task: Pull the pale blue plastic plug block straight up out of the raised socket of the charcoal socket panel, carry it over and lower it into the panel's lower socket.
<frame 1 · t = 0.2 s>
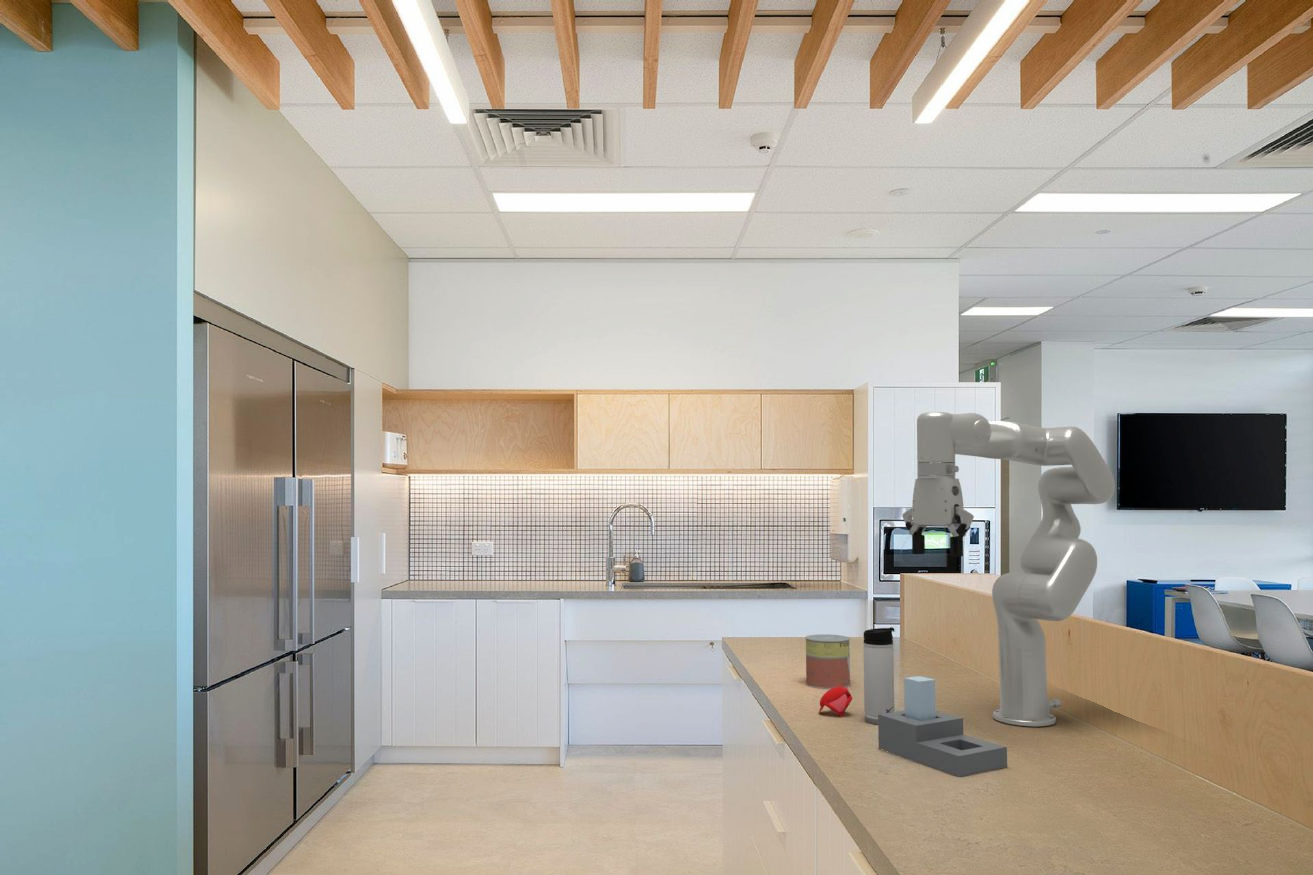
hand: (937, 555, 185), 36 cm above the counter, tool pointing down, fingers open, 9 cm apart
travel mug: (880, 722, 194), on the counter
socket panel: (940, 757, 167), on the counter
cap: (835, 715, 201), on the counter
canned food: (828, 685, 233), on the counter
plug: (920, 732, 172), point 3 cm above the counter, touching socket panel
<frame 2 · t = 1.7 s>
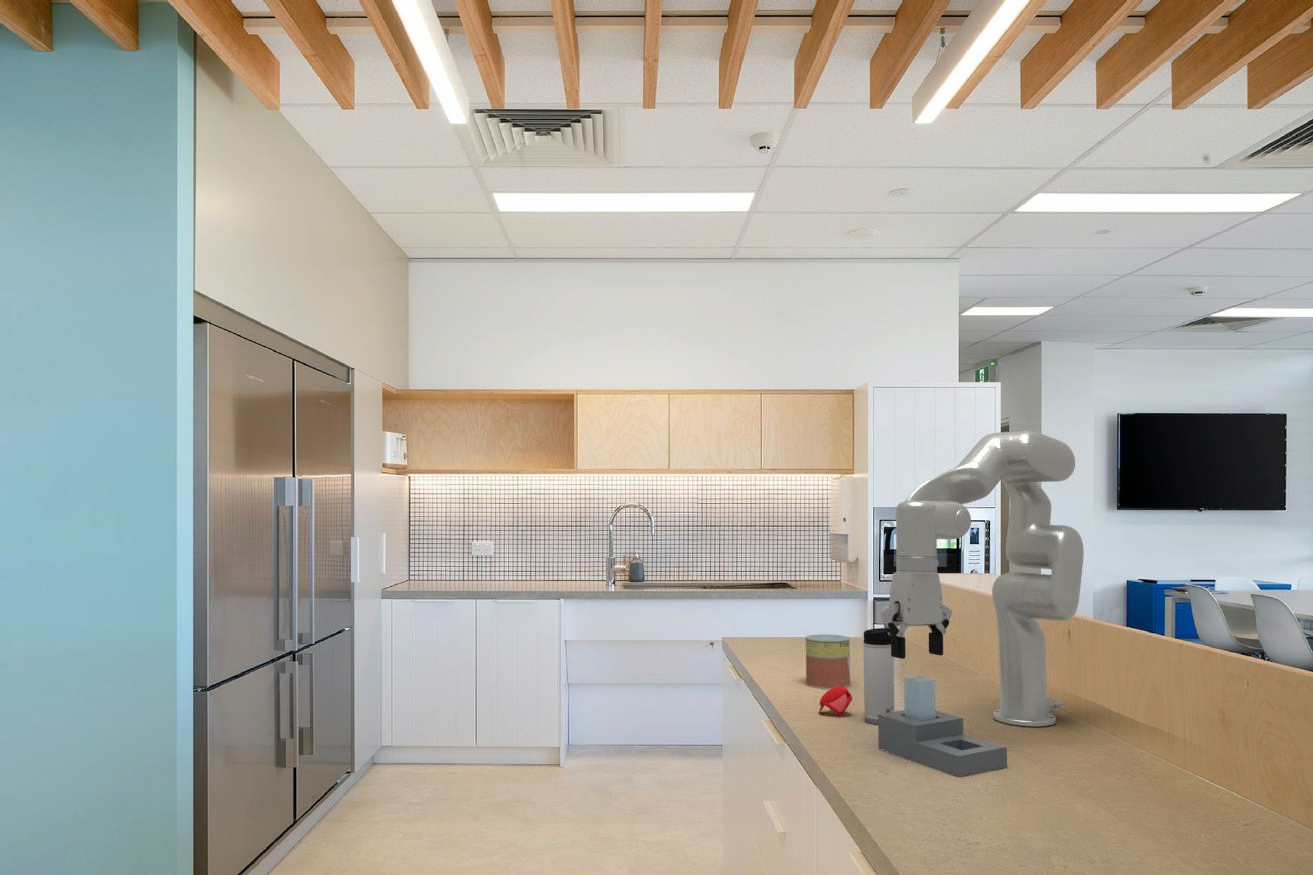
hand: (917, 655, 172), 18 cm above the counter, tool pointing down, fingers open, 9 cm apart
nothing on the counter moved.
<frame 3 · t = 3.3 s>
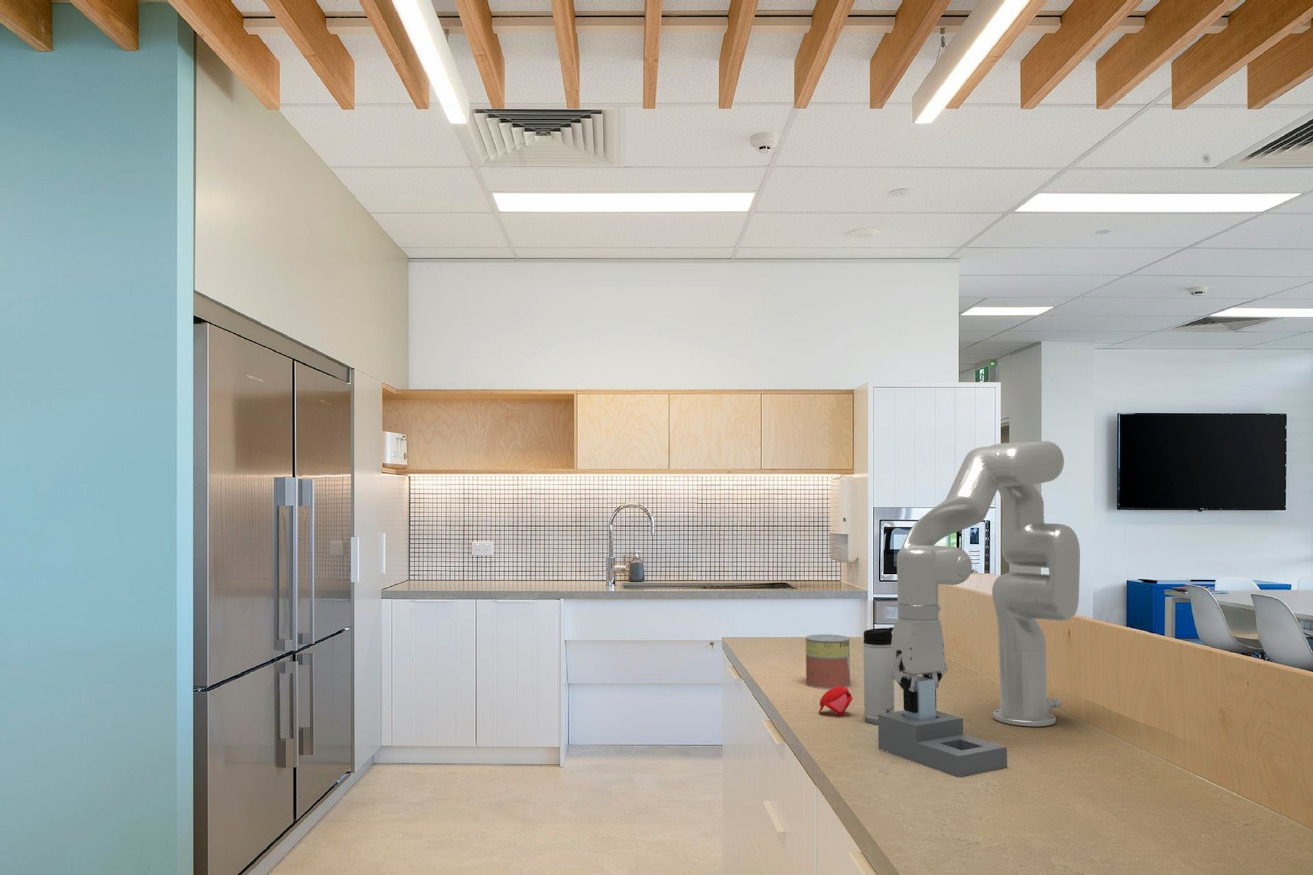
hand: (920, 709, 172), 8 cm above the counter, tool pointing down, fingers closed on plug, 4 cm apart
plug: (920, 732, 172), point 4 cm above the counter, touching gripper, socket panel
everything else where it was.
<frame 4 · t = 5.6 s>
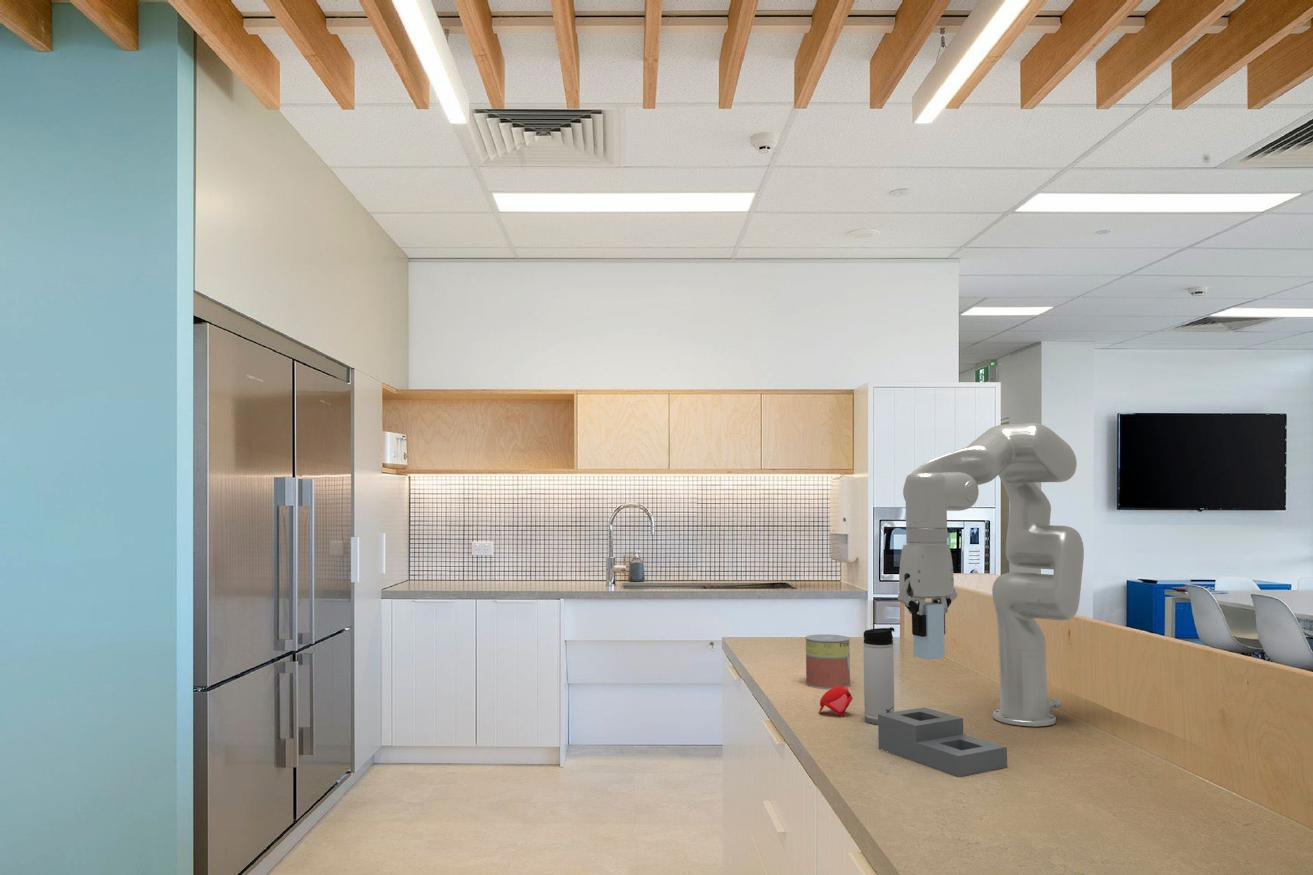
hand: (928, 633, 170), 22 cm above the counter, tool pointing down, fingers closed on plug, 4 cm apart
plug: (929, 656, 170), point 18 cm above the counter, touching gripper
everything else where it was.
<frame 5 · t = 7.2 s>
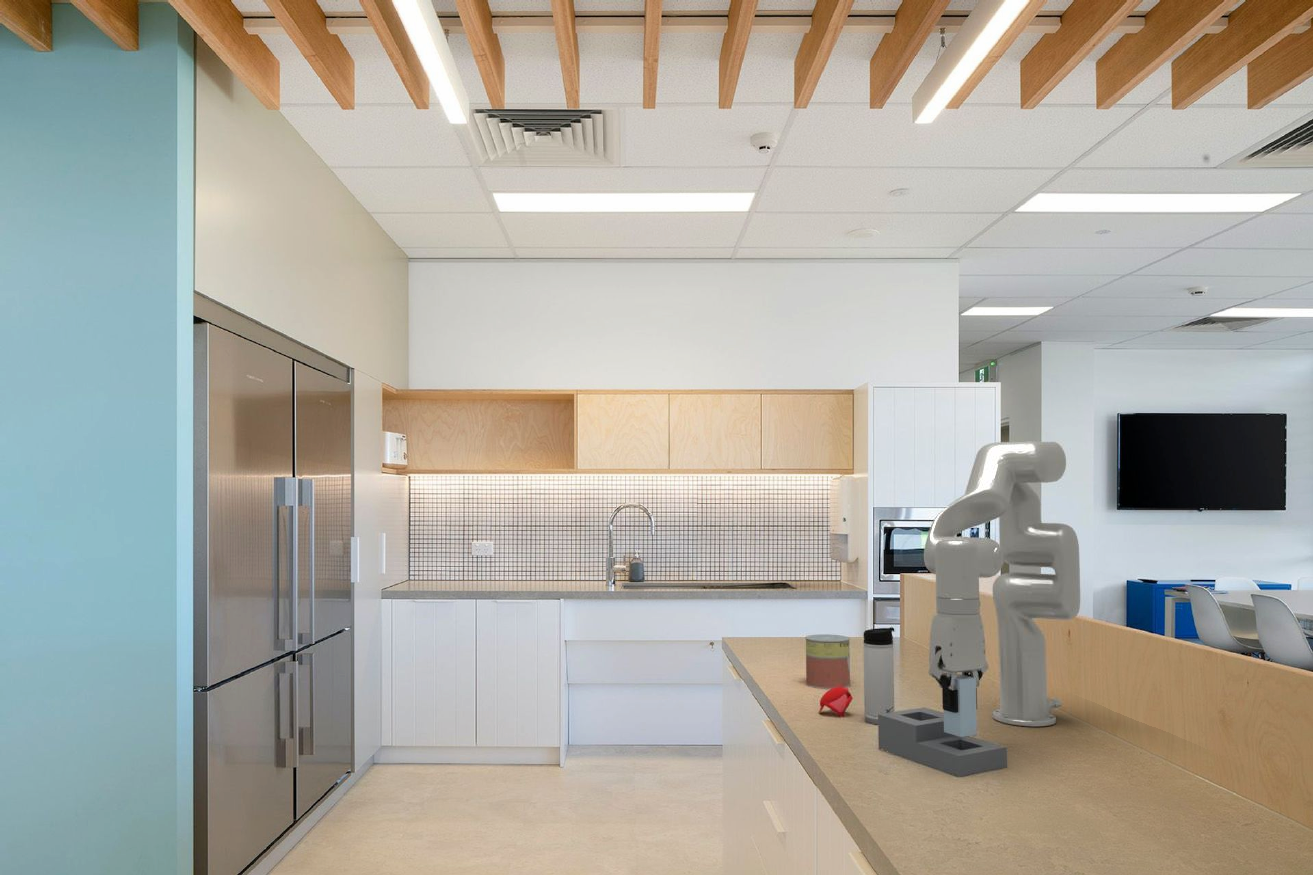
hand: (959, 708, 163), 10 cm above the counter, tool pointing down, fingers closed on plug, 4 cm apart
plug: (960, 733, 163), point 6 cm above the counter, touching gripper
everything else where it was.
when the fingers open (6 cm above the counter, at t = 8.3 s): plug drops 1 cm, resting on socket panel.
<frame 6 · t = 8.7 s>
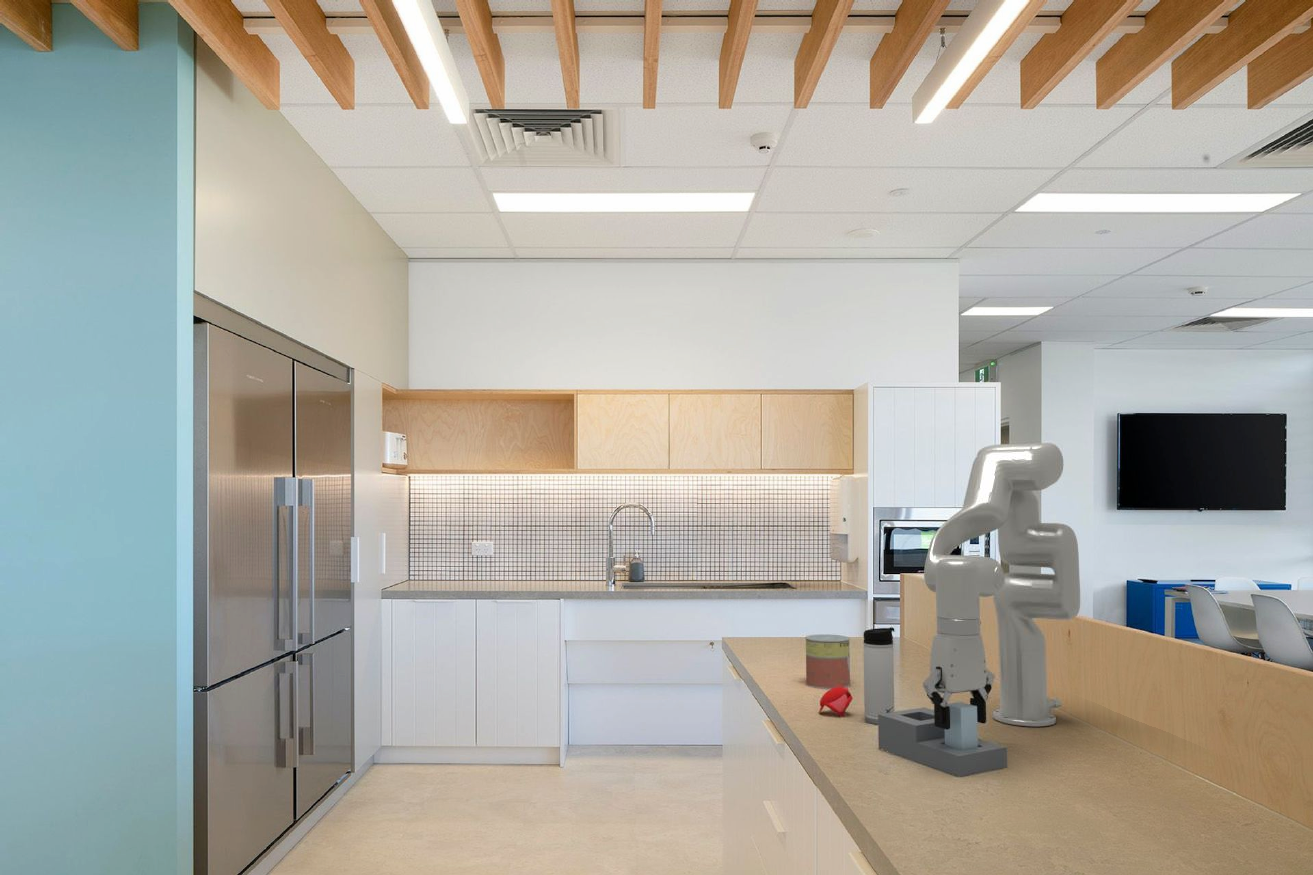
hand: (960, 724, 163), 7 cm above the counter, tool pointing down, fingers open, 8 cm apart
plug: (961, 761, 163), resting on socket panel
everything else where it was.
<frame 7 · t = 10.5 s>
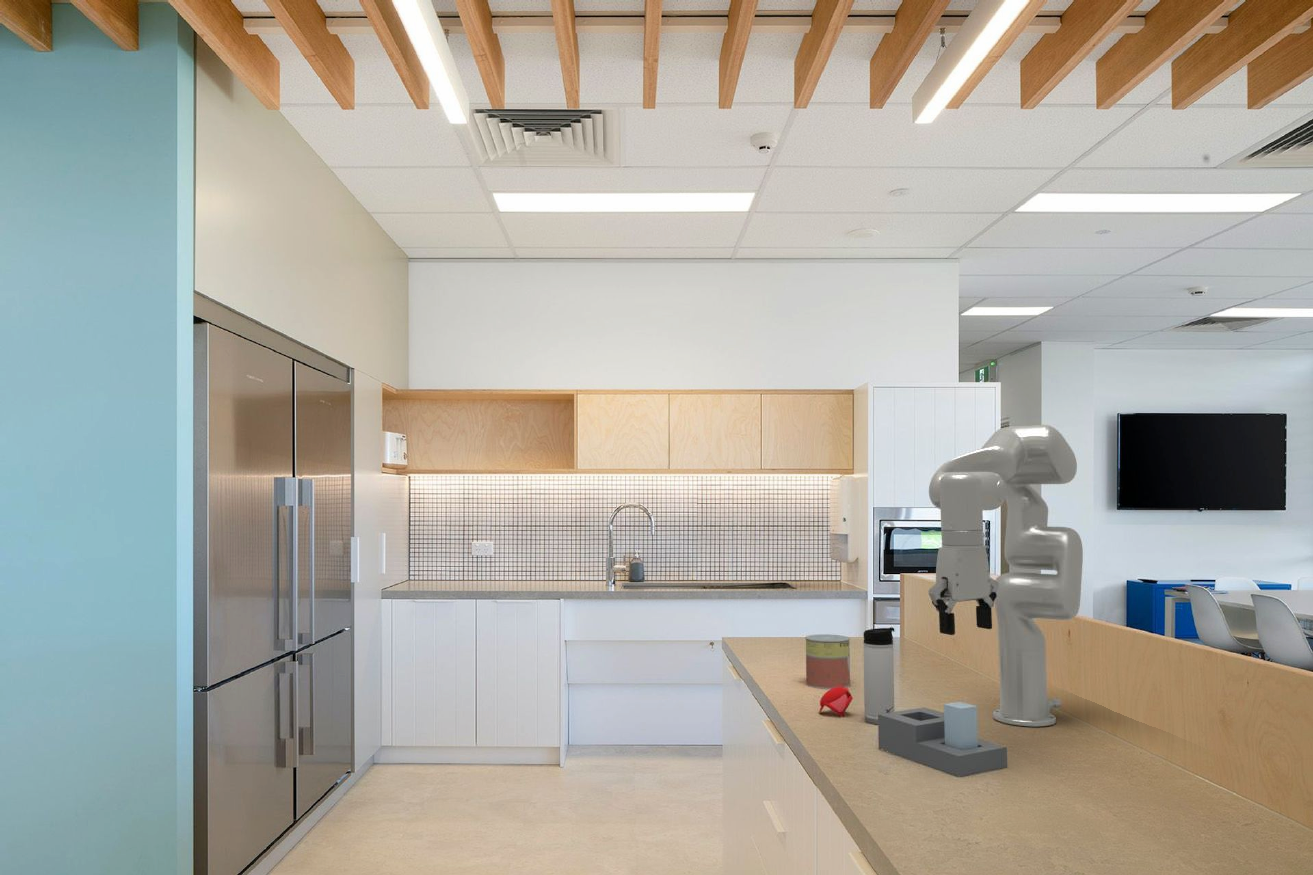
hand: (966, 630, 169), 23 cm above the counter, tool pointing down, fingers open, 9 cm apart
nothing on the counter moved.
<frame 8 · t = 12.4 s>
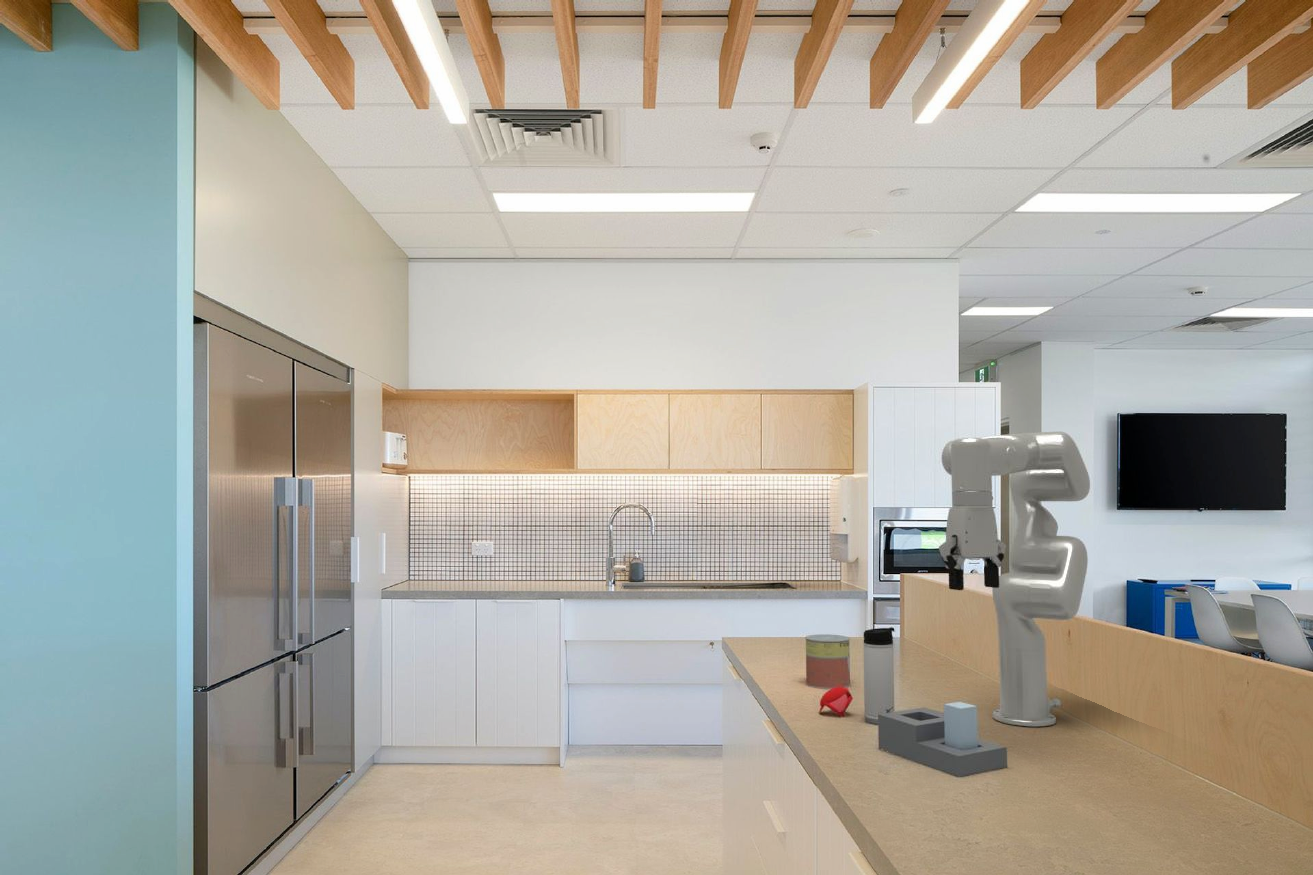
hand: (974, 588, 176), 30 cm above the counter, tool pointing down, fingers open, 9 cm apart
nothing on the counter moved.
at the end: plug 0.1 cm from the target spot on the socket panel, point 0.5 cm above the socket panel's base; plug tilted 0°; the gripper is holding nothing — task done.
